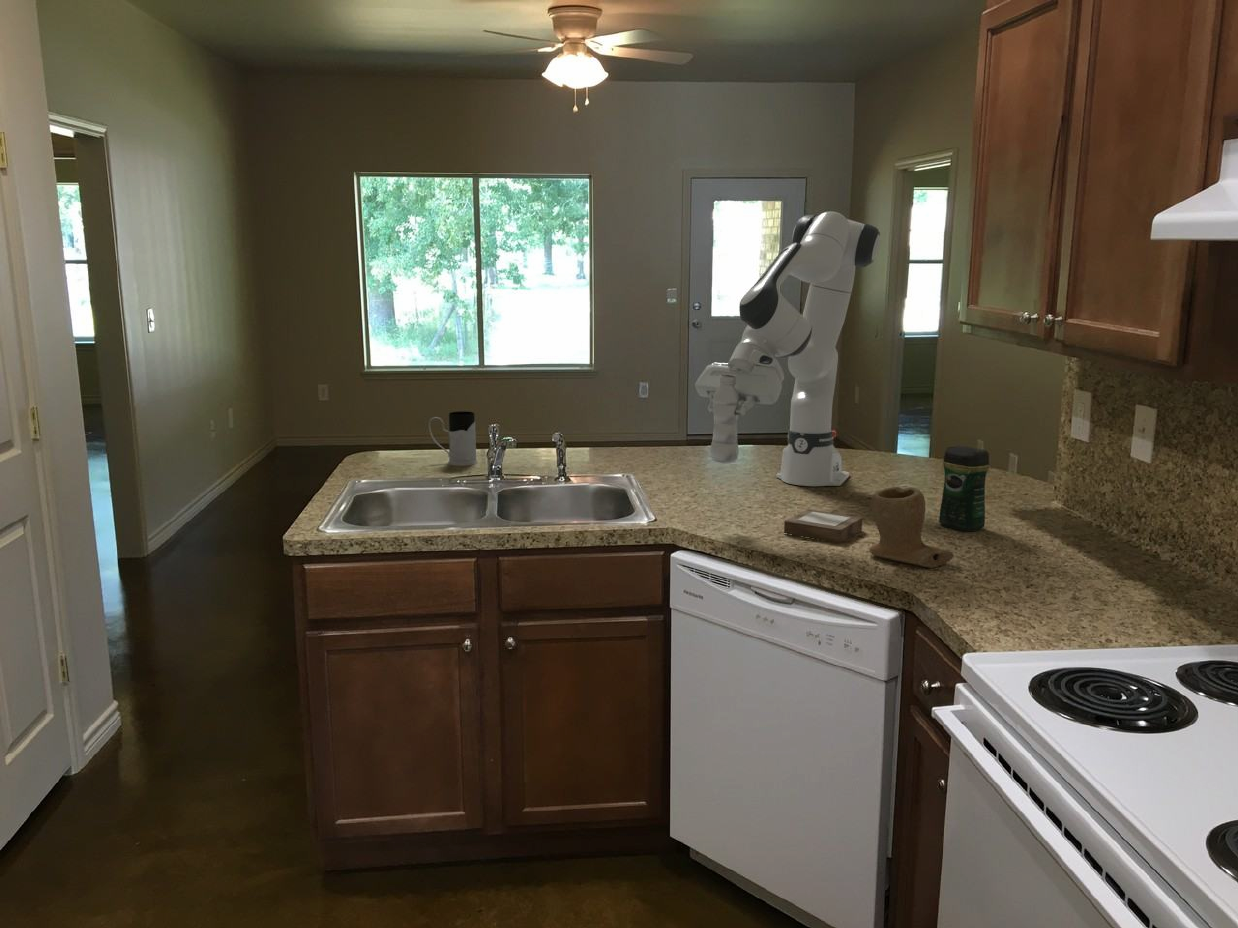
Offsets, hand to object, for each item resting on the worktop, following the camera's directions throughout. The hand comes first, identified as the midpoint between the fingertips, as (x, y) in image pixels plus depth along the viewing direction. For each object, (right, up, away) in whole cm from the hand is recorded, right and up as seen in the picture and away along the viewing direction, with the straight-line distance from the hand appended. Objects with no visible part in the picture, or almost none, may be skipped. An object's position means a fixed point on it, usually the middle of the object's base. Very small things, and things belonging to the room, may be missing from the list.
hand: (725, 412), depth 220 cm
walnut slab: (+22, -27, -3) cm, 35 cm away
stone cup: (+34, -32, -24) cm, 52 cm away
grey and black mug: (-73, -11, +71) cm, 103 cm away
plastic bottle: (0, -12, +3) cm, 12 cm away
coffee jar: (+54, -26, +3) cm, 60 cm away
